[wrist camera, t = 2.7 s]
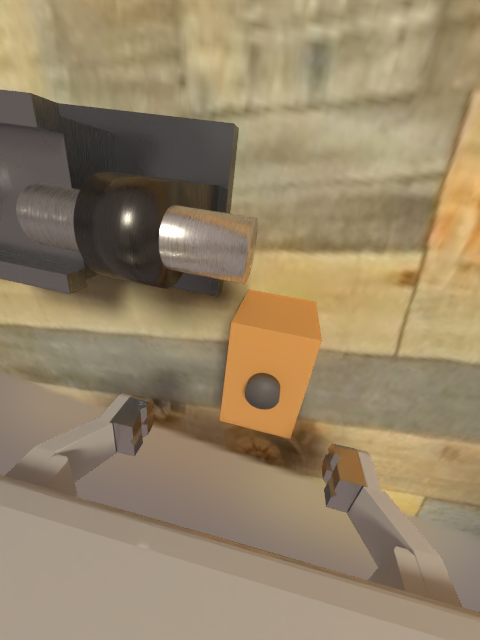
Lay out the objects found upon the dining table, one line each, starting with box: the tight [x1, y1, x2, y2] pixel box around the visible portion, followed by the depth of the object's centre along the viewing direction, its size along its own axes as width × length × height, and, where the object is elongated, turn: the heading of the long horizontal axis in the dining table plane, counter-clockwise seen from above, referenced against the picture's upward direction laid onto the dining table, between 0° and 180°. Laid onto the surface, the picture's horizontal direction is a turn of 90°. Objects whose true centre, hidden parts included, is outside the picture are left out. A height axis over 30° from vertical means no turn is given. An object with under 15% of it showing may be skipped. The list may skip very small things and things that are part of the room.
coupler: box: [220, 290, 322, 439], centre depth 16 cm, size 7×4×6 cm, turn 173°
